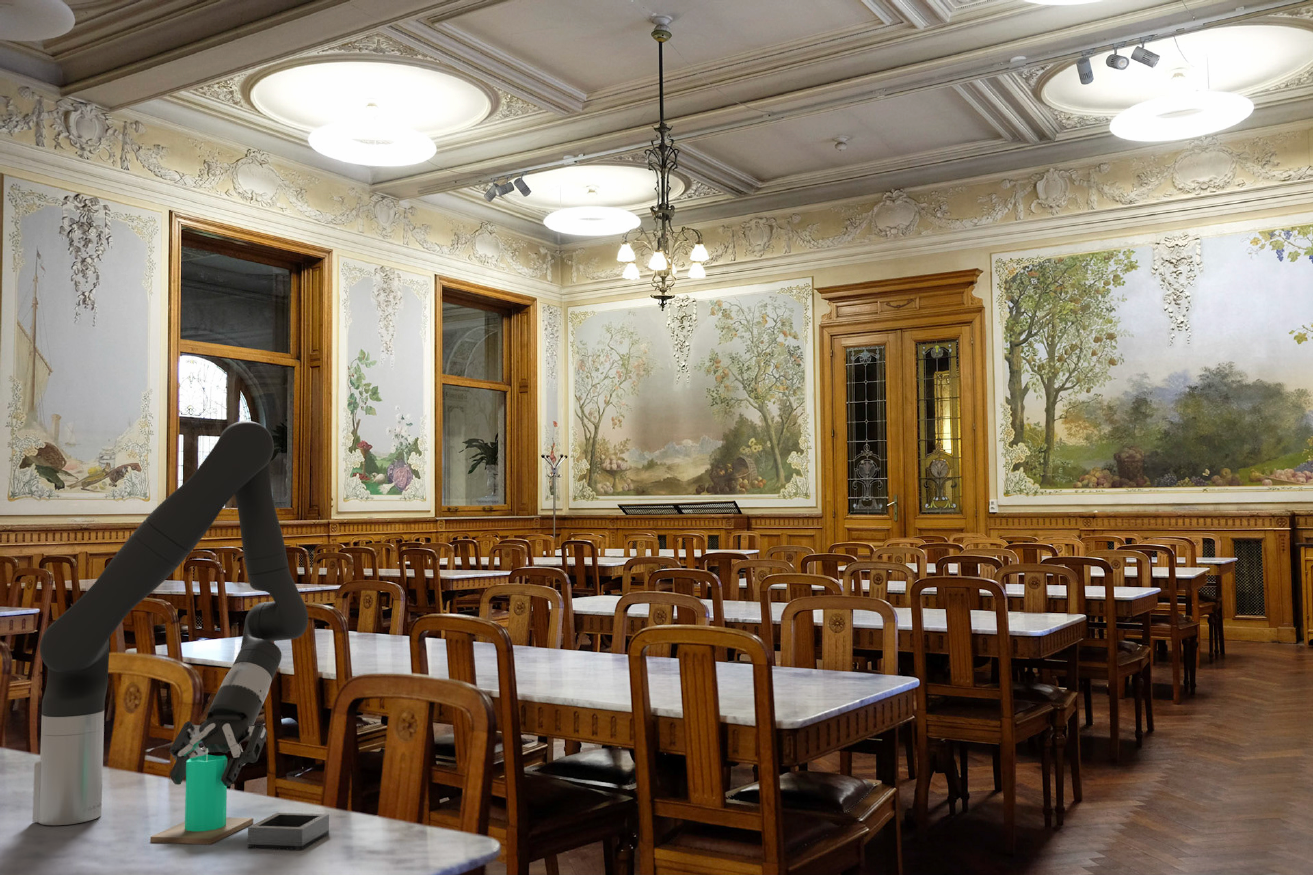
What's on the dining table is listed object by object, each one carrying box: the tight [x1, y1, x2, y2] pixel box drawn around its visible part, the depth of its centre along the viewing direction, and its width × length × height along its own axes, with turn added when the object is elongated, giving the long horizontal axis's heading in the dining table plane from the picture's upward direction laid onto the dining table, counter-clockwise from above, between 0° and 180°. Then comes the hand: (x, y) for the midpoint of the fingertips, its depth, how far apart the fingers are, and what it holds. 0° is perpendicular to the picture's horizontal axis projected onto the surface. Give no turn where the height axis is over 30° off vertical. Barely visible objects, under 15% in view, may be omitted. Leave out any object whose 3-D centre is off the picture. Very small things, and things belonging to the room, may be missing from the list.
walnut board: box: [149, 816, 254, 845], centre depth 172 cm, size 10×12×1 cm
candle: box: [184, 748, 228, 831], centre depth 173 cm, size 6×6×12 cm
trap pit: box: [247, 812, 330, 851], centre depth 166 cm, size 9×9×3 cm
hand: (200, 782), depth 171 cm, fingers open, 8 cm apart
